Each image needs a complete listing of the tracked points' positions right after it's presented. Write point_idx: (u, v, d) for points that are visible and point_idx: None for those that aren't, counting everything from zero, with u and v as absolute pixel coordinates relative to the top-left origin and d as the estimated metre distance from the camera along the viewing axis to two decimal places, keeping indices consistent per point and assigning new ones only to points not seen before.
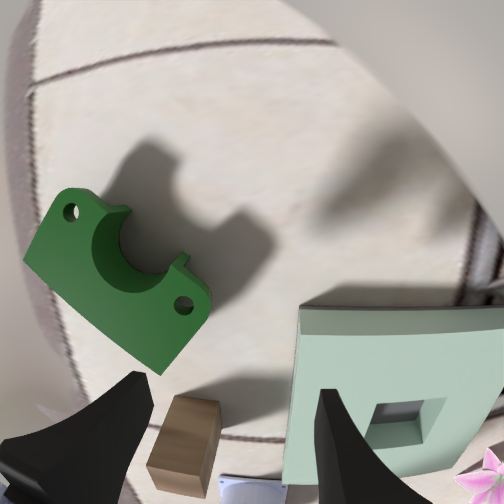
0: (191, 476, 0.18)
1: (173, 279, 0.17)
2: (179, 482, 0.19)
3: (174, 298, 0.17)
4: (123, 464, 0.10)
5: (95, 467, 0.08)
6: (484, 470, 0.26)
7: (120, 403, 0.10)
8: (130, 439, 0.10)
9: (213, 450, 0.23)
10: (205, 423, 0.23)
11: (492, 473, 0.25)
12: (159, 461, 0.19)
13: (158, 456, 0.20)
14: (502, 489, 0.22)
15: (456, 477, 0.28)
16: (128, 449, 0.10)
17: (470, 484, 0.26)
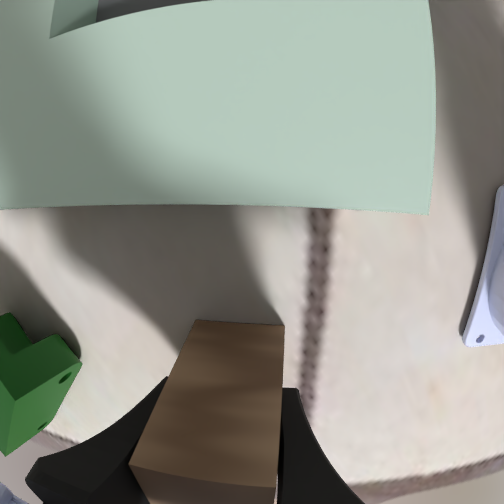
0: (141, 475, 0.07)
1: None
2: (194, 502, 0.07)
3: None
4: None
5: (136, 480, 0.08)
6: None
7: None
8: None
9: (244, 378, 0.11)
10: None
11: None
12: None
13: None
14: None
15: None
16: None
17: None
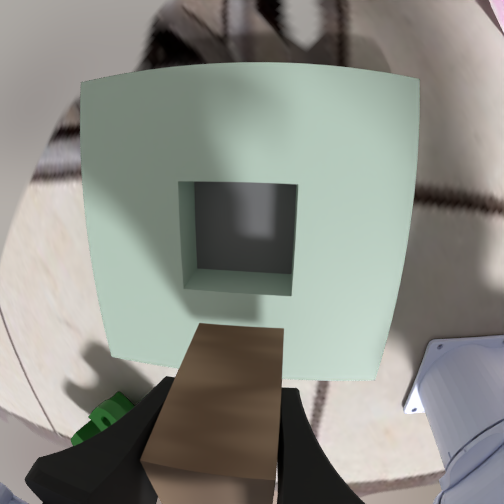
0: (151, 471, 0.08)
1: (94, 419, 0.23)
2: (199, 494, 0.08)
3: (103, 424, 0.22)
4: None
5: (136, 480, 0.08)
6: None
7: (158, 411, 0.10)
8: None
9: (246, 378, 0.12)
10: None
11: None
12: None
13: None
14: None
15: None
16: None
17: None
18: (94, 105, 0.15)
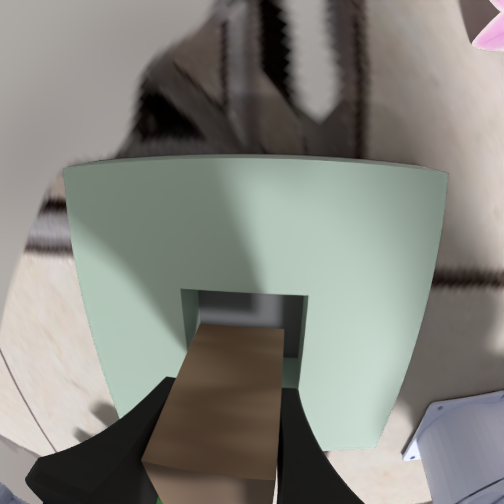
0: (152, 471, 0.08)
1: None
2: (200, 494, 0.08)
3: None
4: None
5: (136, 480, 0.08)
6: None
7: (159, 411, 0.10)
8: None
9: (246, 379, 0.12)
10: None
11: None
12: None
13: None
14: None
15: None
16: None
17: None
18: (81, 197, 0.14)
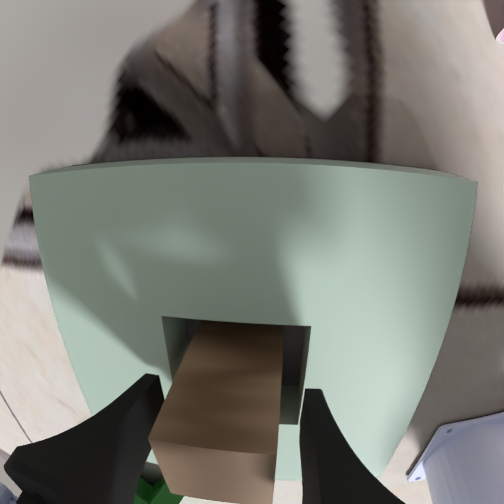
0: (158, 449, 0.09)
1: None
2: (205, 474, 0.09)
3: None
4: (137, 468, 0.10)
5: (111, 472, 0.08)
6: None
7: (135, 406, 0.10)
8: (144, 442, 0.10)
9: (248, 363, 0.12)
10: None
11: None
12: None
13: None
14: None
15: None
16: (142, 453, 0.10)
17: None
18: (48, 209, 0.12)
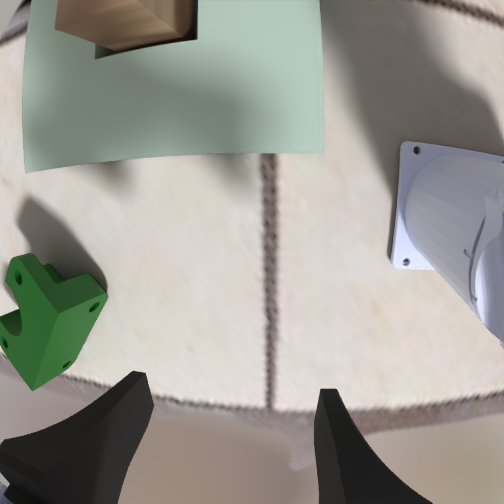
0: None
1: (10, 281, 0.19)
2: None
3: (16, 283, 0.18)
4: (123, 464, 0.10)
5: (95, 467, 0.08)
6: None
7: (120, 403, 0.10)
8: (130, 439, 0.10)
9: None
10: None
11: None
12: None
13: None
14: None
15: None
16: (128, 449, 0.10)
17: None
18: None
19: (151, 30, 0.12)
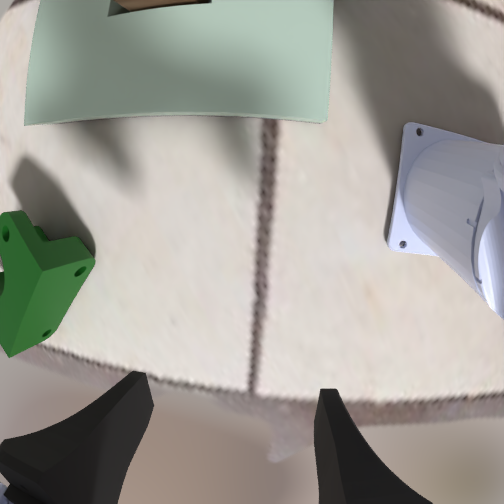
0: None
1: None
2: None
3: (3, 240, 0.17)
4: (123, 464, 0.10)
5: (95, 467, 0.08)
6: None
7: (120, 403, 0.10)
8: (130, 439, 0.10)
9: None
10: None
11: None
12: None
13: None
14: None
15: None
16: (128, 449, 0.10)
17: None
18: None
19: None
